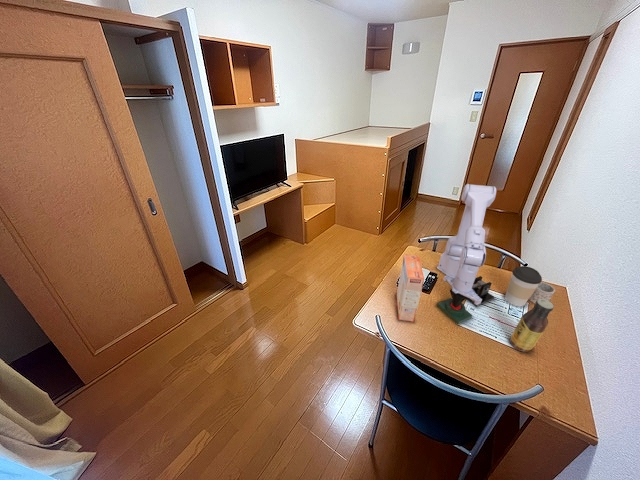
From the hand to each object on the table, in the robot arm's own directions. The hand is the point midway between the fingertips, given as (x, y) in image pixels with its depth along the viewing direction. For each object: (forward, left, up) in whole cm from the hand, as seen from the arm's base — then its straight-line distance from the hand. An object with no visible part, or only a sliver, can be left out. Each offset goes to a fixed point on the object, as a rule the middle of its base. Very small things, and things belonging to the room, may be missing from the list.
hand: (455, 305), depth 97 cm
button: (0, 0, -2) cm, 2 cm away
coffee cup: (+6, +27, -4) cm, 28 cm away
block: (0, 0, -3) cm, 3 cm away
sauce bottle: (+20, +8, -4) cm, 22 cm away
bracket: (-2, +15, -3) cm, 16 cm away
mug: (+8, +35, -4) cm, 36 cm away
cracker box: (-10, -15, -4) cm, 18 cm away
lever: (-2, +10, +3) cm, 11 cm away
